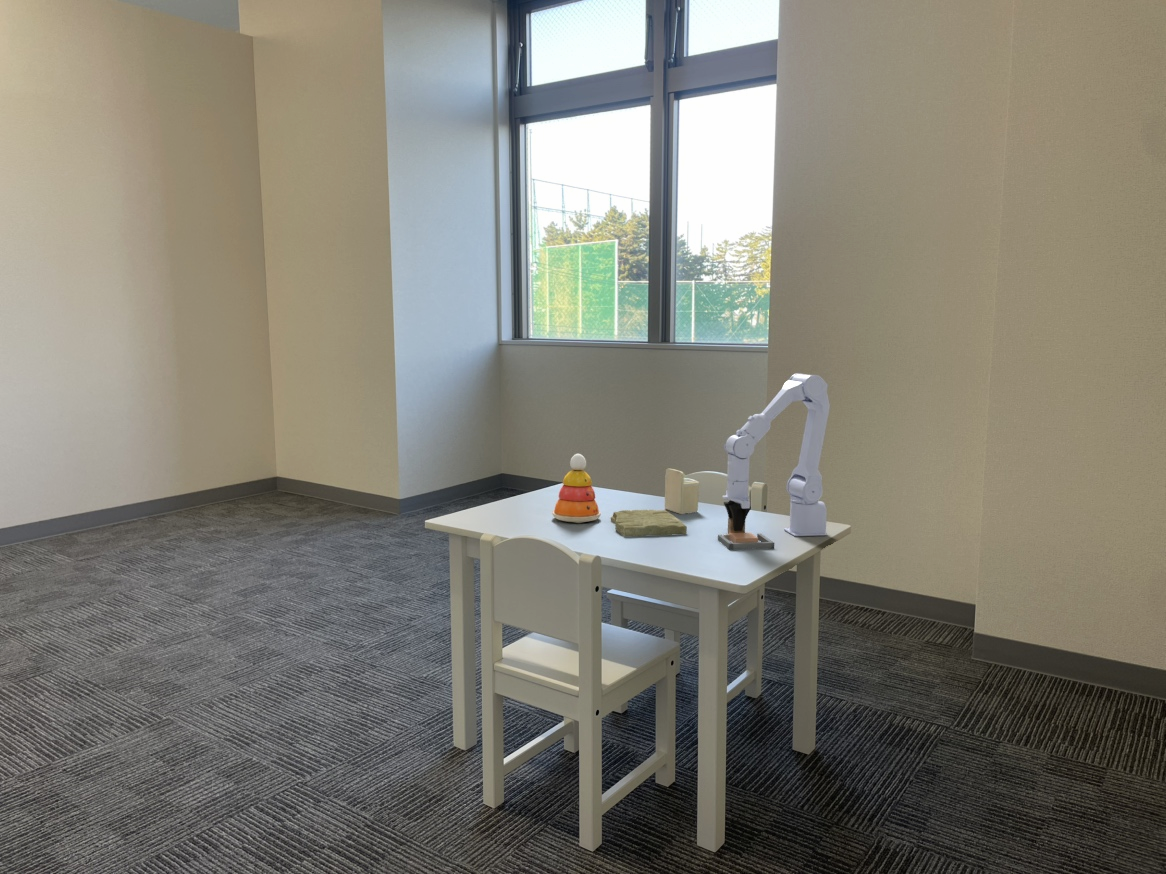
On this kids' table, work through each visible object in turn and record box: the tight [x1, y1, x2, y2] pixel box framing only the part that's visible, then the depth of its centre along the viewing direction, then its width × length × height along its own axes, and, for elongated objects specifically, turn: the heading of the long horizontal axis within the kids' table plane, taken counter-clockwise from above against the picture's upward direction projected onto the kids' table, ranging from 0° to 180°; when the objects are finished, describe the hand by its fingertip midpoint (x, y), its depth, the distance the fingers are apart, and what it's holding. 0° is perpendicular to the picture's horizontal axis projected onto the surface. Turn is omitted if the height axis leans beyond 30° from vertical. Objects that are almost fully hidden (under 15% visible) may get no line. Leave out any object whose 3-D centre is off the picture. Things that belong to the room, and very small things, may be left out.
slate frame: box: [717, 533, 775, 551], centre depth 227 cm, size 12×10×2 cm
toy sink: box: [664, 468, 701, 515], centre depth 267 cm, size 8×7×13 cm
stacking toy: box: [551, 453, 601, 524], centre depth 253 cm, size 14×14×20 cm
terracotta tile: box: [728, 532, 759, 543], centre depth 230 cm, size 6×6×2 cm
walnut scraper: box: [722, 517, 746, 540], centre depth 234 cm, size 8×3×5 cm, turn 99°
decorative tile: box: [610, 509, 688, 537], centre depth 245 cm, size 19×20×4 cm
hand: (736, 529), depth 234 cm, fingers closed on walnut scraper, 2 cm apart
